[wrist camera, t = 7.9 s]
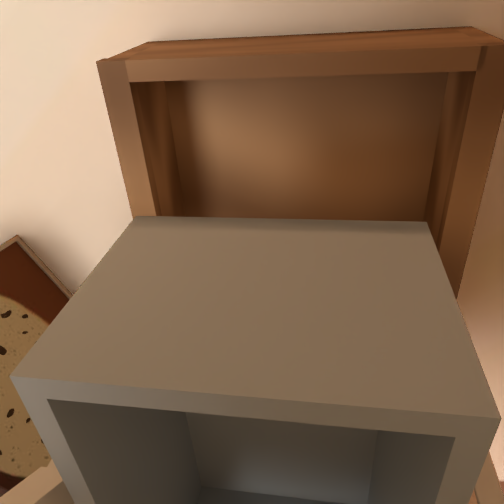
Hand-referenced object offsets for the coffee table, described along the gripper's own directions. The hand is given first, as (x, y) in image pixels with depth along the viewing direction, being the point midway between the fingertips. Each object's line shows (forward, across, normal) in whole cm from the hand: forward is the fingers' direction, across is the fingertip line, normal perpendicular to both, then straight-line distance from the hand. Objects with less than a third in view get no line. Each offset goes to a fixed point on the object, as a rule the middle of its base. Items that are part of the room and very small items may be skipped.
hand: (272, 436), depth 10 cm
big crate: (+11, 0, 0) cm, 11 cm away
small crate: (+2, 0, 0) cm, 2 cm away
